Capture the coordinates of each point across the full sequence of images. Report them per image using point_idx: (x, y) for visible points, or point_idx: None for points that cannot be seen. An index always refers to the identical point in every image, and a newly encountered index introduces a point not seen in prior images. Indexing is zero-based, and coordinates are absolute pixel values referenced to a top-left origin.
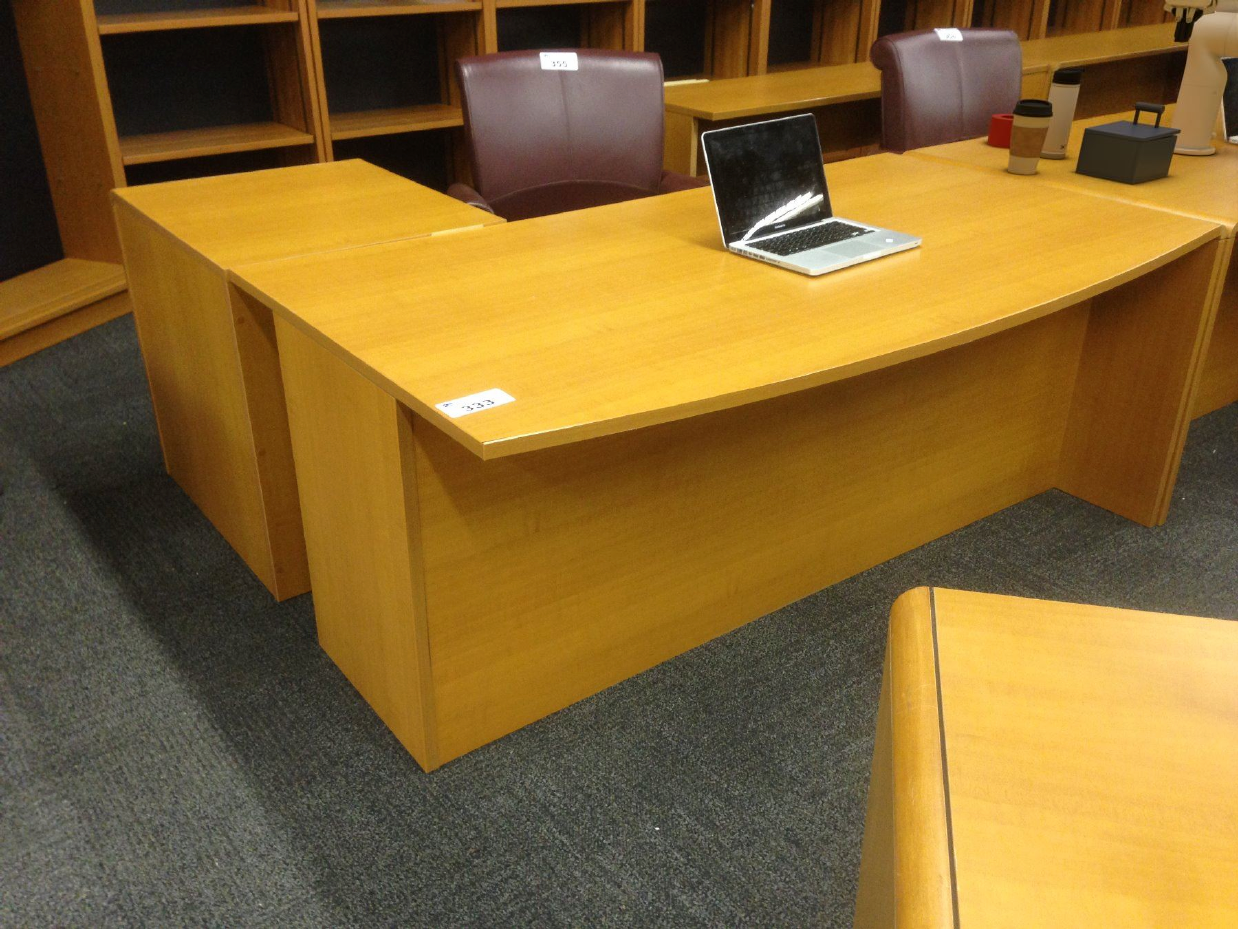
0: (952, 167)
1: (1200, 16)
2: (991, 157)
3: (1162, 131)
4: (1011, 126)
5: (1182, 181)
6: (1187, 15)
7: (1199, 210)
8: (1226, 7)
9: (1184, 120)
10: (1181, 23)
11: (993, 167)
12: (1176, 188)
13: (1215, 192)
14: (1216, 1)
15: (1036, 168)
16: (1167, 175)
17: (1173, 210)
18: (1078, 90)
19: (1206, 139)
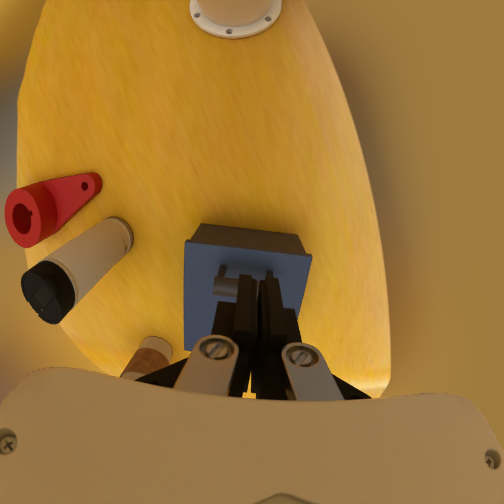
0: (111, 370)
1: (343, 391)
2: (88, 301)
3: (290, 297)
4: (40, 240)
5: (324, 251)
6: (235, 367)
7: (367, 366)
8: None
9: (226, 6)
10: (244, 391)
11: (127, 347)
12: (330, 299)
13: (372, 282)
14: (468, 411)
15: (170, 349)
16: (297, 235)
17: (347, 381)
18: (80, 279)
19: (269, 1)
